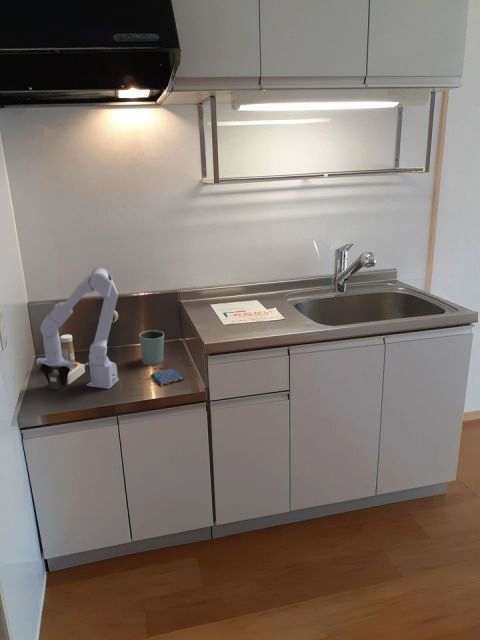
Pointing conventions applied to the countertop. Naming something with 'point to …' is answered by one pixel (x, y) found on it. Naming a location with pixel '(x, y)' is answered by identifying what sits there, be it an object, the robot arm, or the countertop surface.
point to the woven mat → (166, 376)
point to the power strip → (76, 372)
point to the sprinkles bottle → (67, 347)
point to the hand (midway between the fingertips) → (57, 383)
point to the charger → (55, 380)
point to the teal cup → (152, 346)
